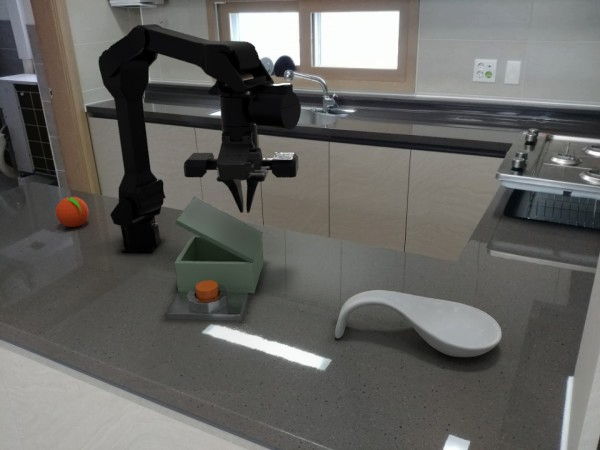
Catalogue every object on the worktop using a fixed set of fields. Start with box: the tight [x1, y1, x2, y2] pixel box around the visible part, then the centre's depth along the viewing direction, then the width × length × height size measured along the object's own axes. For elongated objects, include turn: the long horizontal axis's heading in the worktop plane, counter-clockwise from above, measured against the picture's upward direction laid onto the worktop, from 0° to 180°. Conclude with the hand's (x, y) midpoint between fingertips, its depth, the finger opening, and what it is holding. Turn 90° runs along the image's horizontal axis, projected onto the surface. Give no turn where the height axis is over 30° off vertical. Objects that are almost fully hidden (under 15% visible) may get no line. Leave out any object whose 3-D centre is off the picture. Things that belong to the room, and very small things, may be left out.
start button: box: [196, 280, 219, 300], centre depth 88 cm, size 4×4×2 cm
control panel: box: [166, 284, 249, 322], centre depth 89 cm, size 12×7×3 cm, turn 85°
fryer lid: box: [174, 195, 264, 263], centre depth 95 cm, size 14×12×1 cm
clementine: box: [55, 196, 90, 228], centre depth 122 cm, size 8×7×7 cm
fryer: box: [174, 234, 264, 294], centre depth 98 cm, size 14×12×6 cm
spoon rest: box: [334, 289, 503, 358], centre depth 78 cm, size 24×12×7 cm, turn 78°
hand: (245, 212), depth 94 cm, fingers closed
